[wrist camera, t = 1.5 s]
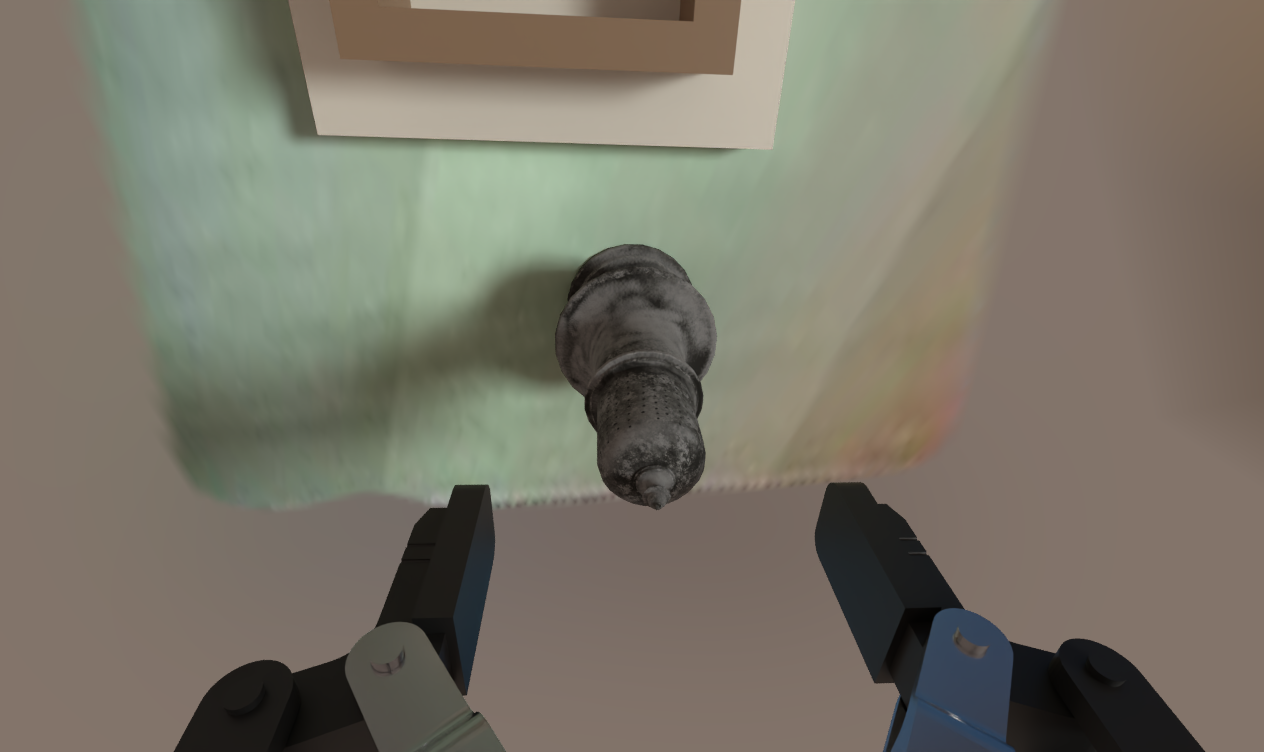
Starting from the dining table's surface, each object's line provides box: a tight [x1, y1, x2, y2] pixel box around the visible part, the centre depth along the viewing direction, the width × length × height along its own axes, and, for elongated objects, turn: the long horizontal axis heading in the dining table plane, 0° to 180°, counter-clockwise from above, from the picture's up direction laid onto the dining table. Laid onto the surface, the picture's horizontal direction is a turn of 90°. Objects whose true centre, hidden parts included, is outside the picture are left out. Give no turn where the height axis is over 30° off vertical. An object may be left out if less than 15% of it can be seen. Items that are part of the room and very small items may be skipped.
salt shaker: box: [555, 244, 717, 510], centre depth 19 cm, size 6×6×12 cm
